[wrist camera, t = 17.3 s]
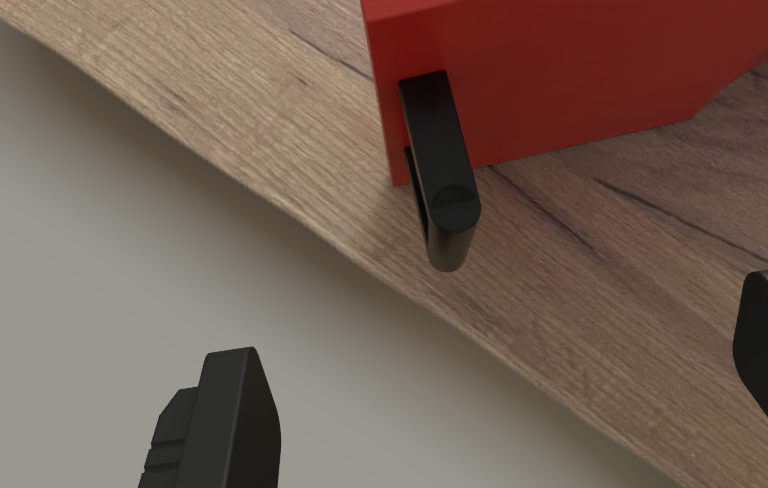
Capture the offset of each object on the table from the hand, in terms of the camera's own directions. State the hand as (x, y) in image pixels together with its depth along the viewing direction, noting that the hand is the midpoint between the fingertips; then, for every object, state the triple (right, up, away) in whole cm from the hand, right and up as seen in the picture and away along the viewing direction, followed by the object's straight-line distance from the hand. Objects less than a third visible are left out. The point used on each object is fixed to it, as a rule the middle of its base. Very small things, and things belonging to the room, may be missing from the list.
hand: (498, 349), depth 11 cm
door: (+6, +4, +21) cm, 23 cm away
